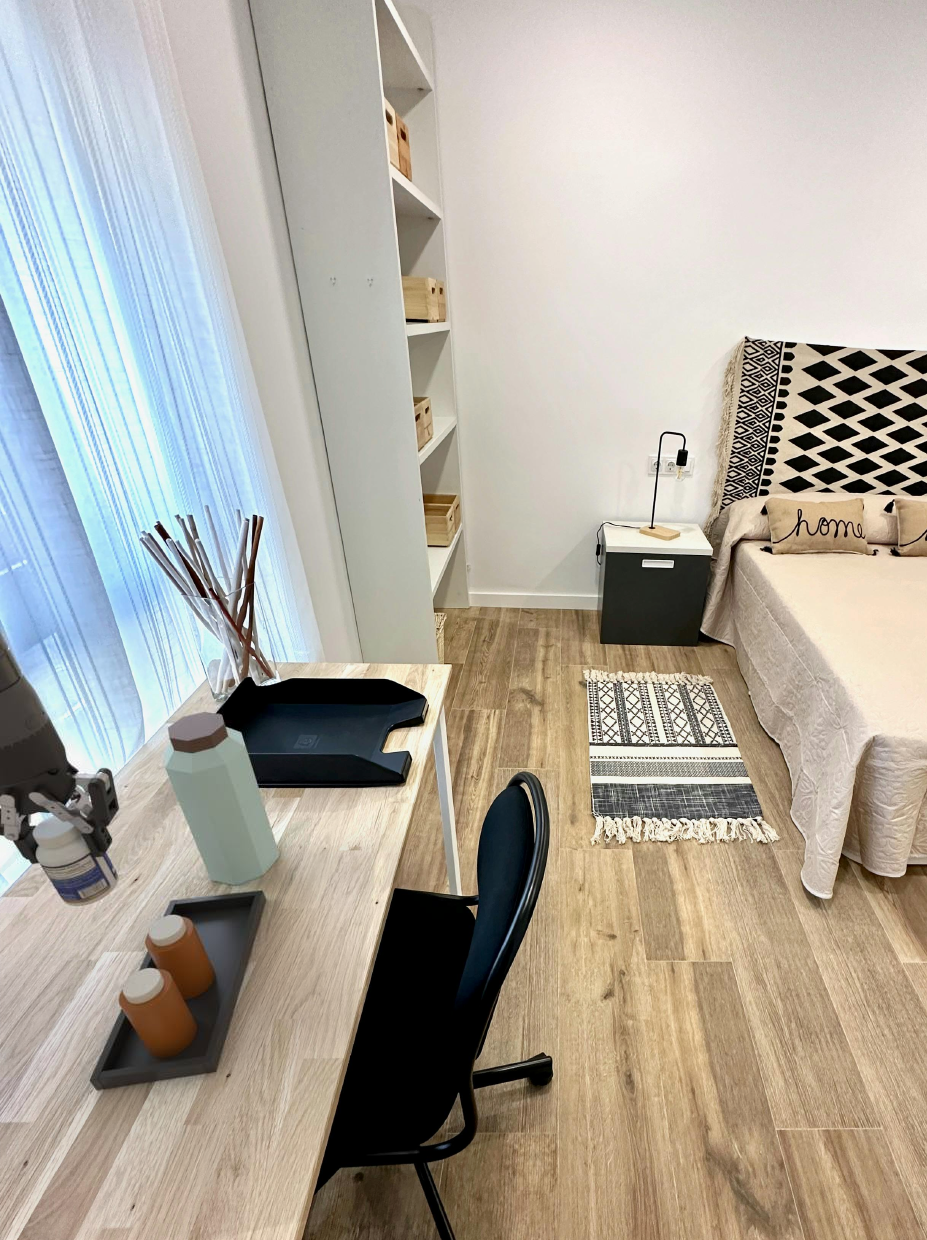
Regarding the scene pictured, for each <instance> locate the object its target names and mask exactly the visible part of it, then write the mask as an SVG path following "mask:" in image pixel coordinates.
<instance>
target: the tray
mask: <svg viewBox="0 0 927 1240" xmlns="http://www.w3.org/2000/svg"><path fill="white" fill-rule="evenodd" d="M266 903H267V898H266V896H265V893H264V890H263V889H261V890H252V891H243V892H234V893H226V894H225V893H224V894H216V895H209V896H207V895H206V896H200V897H199V896H198V897H191V898H190V897H189V898H181V899H172V900H170V901H169V903H168V906H167V908H166V910H165V911H164V914H163V916H162V918H163V917H165V916H169V915H178V916H180V917H185V918H188V919H190V920H191V921H192V923H193V925H194V927H195V929H196V931H197V933H198V936H199V938H200V940H201V942H202V944H203V947H204V949H205V951H206V953H207V955H208V957H209V960H210V962H211V964H212V966H213V968H214V971H215V978H214V981H213V983H212V984H211V986H210V987H209V988H208V989H207V990H206V991H205V992H204V993H202V994H201V995H199V996H197V997H195V998H192V999H187V1000H184V1001H185V1003H186V1005H187V1007H188V1009H189V1011H190V1013H191V1015H192V1017H193V1019H194V1021H195V1022H196V1025H197V1032H196V1035H195V1037H194V1039H193V1041H192V1042H191V1044H190V1045H189V1046H188V1047H187V1048H186V1049H184V1050H183V1051H182V1052H180V1053H179V1054H177V1055H175V1056H172V1057H169V1058H165V1059H159V1058H155V1057H153V1056H152V1055H151V1054H150V1053H149V1051H148V1050H147V1048H146V1047H145V1045H144V1043H143V1042H142V1040H141V1038H140V1037H139V1035H138V1034H137V1032H136V1030H135V1029H134V1027H133V1026H132V1024H131V1022H130V1021H129V1019H128V1018H127V1016H126V1014H125V1013H124V1011H123V1009H122V1008H121V1009H120V1011H119V1014H118V1015H117V1018H116V1021H115V1022H114V1025H113V1027H112V1030H111V1031H110V1034H109V1036H108V1038H107V1040H106V1042H105V1045H104V1046H103V1048H102V1051H101V1054H100V1056H99V1058H98V1061H97V1063H96V1065H95V1067H94V1069H93V1071H92V1073H91V1075H90V1078H89V1082H90V1083H91V1085H92V1086H93V1087H94V1089H95V1090H96V1091H102V1090H110V1089H116V1088H117V1089H118V1088H122V1087H128V1086H129V1087H130V1086H136V1085H141V1084H148V1083H155V1082H161V1081H168V1080H174V1079H181V1078H187V1077H188V1078H189V1077H194V1076H201V1075H208V1074H212V1073H213V1074H215V1073H217V1070H218V1067H219V1064H220V1061H221V1057H222V1053H223V1050H224V1047H225V1043H226V1040H227V1037H228V1033H229V1030H230V1026H231V1023H232V1019H233V1016H234V1012H235V1009H236V1005H237V1003H238V998H239V995H240V991H241V989H242V985H243V982H244V978H245V974H246V972H247V968H248V964H249V961H250V958H251V954H252V951H253V948H254V945H255V944H254V943H255V940H256V938H257V934H258V930H259V927H260V923H261V921H262V917H263V913H264V909H265V906H266ZM147 968H154V969H158V968H157V966H156V964H155V963H154V961H153V959H152V957H151V955H150V953H149V951H148V950H147V952H146V954H145V956H144V958H143V960H142V963H141V965H140V967H139V969H138V971H140V970H143V969H147Z"/></svg>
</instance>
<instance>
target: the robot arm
mask: <svg viewBox="0 0 927 1240" xmlns="http://www.w3.org/2000/svg"><path fill="white" fill-rule="evenodd" d="M42 702H43V701H41V698H40V697H39V695H38V693H37V691H36V689H35V688H34V687H33V685H32V683H30V681H29V679H27V677H26V676H25V674H24V673H23V671H22V669H21V667H20V665H19V663H18V661H17V660H16V657H15V655H14V653H13V651H12V650H11V648H10V646H9V645H8V643H7V641H6V640H5V637H4V636H3V635H2V631H1V630H0V836H1V837H4V838H5V839H6V840H8V841H11V842H13V844H14V845H15V847H16V849H17V850H18V851H19V853H20V855H21V856H22V858H24V859H25V860H28V861H29V862H30V864H31V865H37V864H39V862H38V860H37V858H36V850H37V848H38V846H39V845H38V843H37V842H36V840H35V838H34V837H33V830H34V828H35V827H36V826H37V825H36V824H35V825H31V823H32V815H35V814H38V813H42V814H51V815H52V816H56V817H57V818H58V819H60V820H61V821H62V822H67V821H68V822H70V823H71V824H73V825H74V826H75V827H76V828H78V829H79V830H80V831H81V832H82V834H81V835H82V837H83V839H84V840H85V842H86V844H87V846H88V848H89V849H90V851H91V853H92V855H93V857H103V856H104V855H105V853H107V852H108V850H109V849H110V846H111V845H112V844H113V837H112V835H111V833H110V830H109V829H108V827H109V826H110V825H111V823H112V821H113V819H114V818H115V816H116V815H117V813H118V812H119V810H120V805H119V801H118V796H117V790H116V786H115V782H114V781H115V780H114V776H113V771H112V770H111V769H109V768H107V767H100V768H99V769H98V771H97V772H82V771H81V772H80V771H79V769H78V768H77V767H75V766H74V765H72V764H71V762H70V761H69V760H68V757H67V752H66V751H67V750H66V746H65V745H64V742H63V741H62V739H61V737H60V735H59V733H58V731H57V729H56V727H55V725H54V723H53V721H52V719H51V718H50V715H49V714H48V712H47V710H46V708H45V706H44V704H43V703H42ZM80 787H81V788H82V789H83V790H82V789H81V788H80ZM69 801H70V803H69V804H68V802H69ZM67 804H68V806H66V805H67ZM84 815H85V816H84Z"/></svg>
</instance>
